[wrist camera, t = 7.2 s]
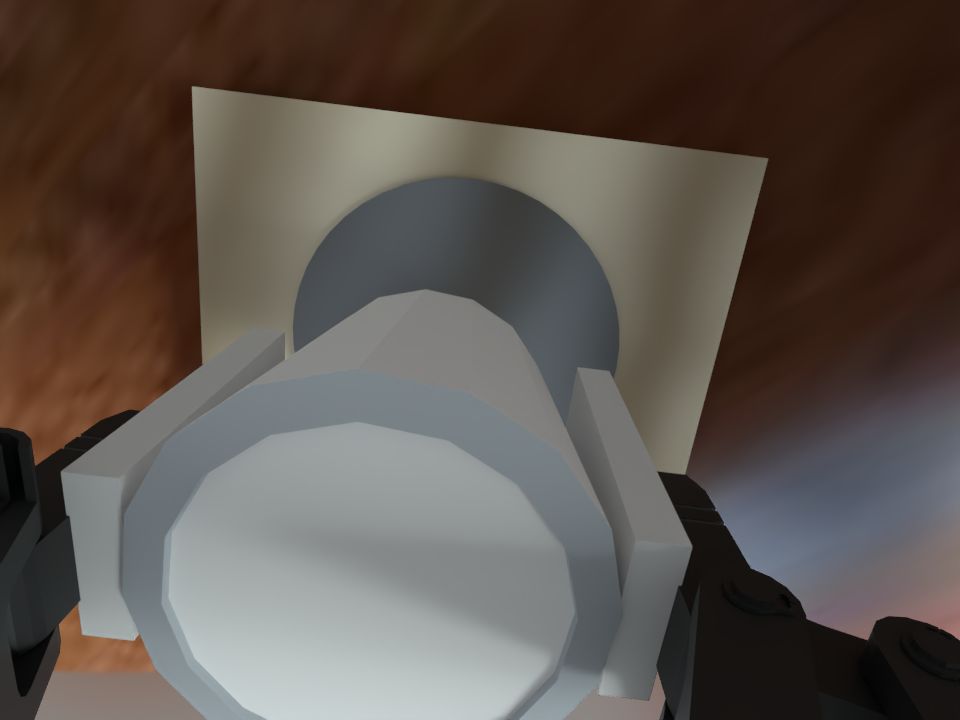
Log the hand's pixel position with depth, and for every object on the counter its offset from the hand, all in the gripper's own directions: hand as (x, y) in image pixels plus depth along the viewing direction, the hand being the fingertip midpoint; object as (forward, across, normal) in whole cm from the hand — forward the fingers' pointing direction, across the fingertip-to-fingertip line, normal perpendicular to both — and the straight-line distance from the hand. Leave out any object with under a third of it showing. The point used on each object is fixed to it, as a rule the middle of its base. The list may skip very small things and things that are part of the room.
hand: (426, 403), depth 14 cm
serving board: (+7, 0, 0) cm, 7 cm away
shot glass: (+1, 0, 0) cm, 1 cm away
